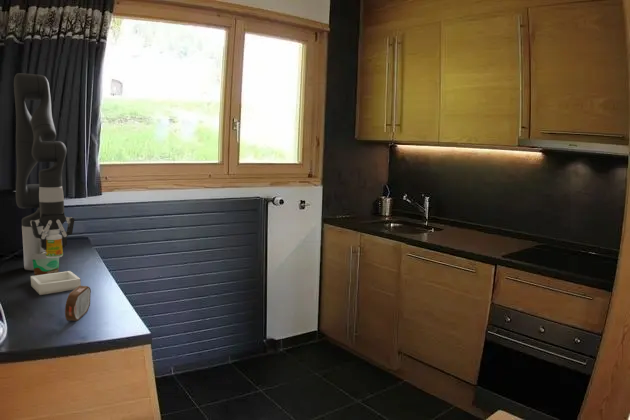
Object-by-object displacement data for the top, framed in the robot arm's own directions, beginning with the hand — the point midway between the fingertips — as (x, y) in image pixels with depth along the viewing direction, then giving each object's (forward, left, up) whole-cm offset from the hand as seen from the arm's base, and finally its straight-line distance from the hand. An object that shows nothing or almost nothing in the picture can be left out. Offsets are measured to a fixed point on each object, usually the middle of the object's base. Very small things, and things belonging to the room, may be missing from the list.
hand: (53, 248), depth 186 cm
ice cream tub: (-15, +2, -14) cm, 21 cm away
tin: (+35, -2, -14) cm, 38 cm away
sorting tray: (0, 0, -14) cm, 14 cm away
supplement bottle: (0, 0, -3) cm, 3 cm away
